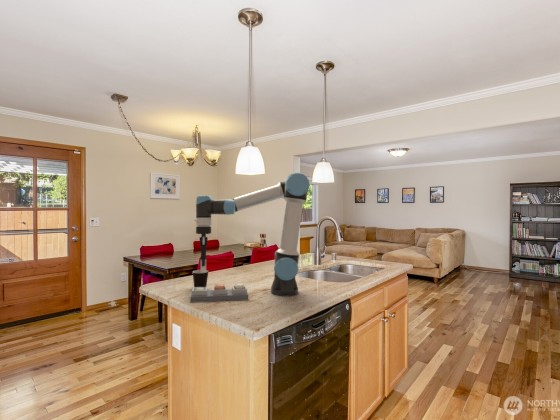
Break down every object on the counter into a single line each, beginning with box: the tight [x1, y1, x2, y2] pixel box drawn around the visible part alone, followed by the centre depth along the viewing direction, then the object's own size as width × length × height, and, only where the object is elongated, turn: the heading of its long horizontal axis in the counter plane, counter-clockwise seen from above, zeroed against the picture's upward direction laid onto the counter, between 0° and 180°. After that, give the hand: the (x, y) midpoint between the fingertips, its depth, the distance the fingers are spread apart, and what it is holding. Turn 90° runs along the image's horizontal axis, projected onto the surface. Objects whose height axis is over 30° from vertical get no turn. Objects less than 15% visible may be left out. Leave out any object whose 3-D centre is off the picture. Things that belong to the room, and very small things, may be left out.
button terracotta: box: [214, 283, 226, 290], centre depth 159 cm, size 5×5×2 cm
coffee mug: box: [192, 269, 209, 287], centre depth 175 cm, size 12×9×10 cm
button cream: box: [234, 283, 245, 289], centre depth 161 cm, size 5×5×2 cm
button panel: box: [190, 285, 249, 303], centre depth 159 cm, size 28×12×5 cm, turn 103°
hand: (203, 272), depth 158 cm, fingers closed
